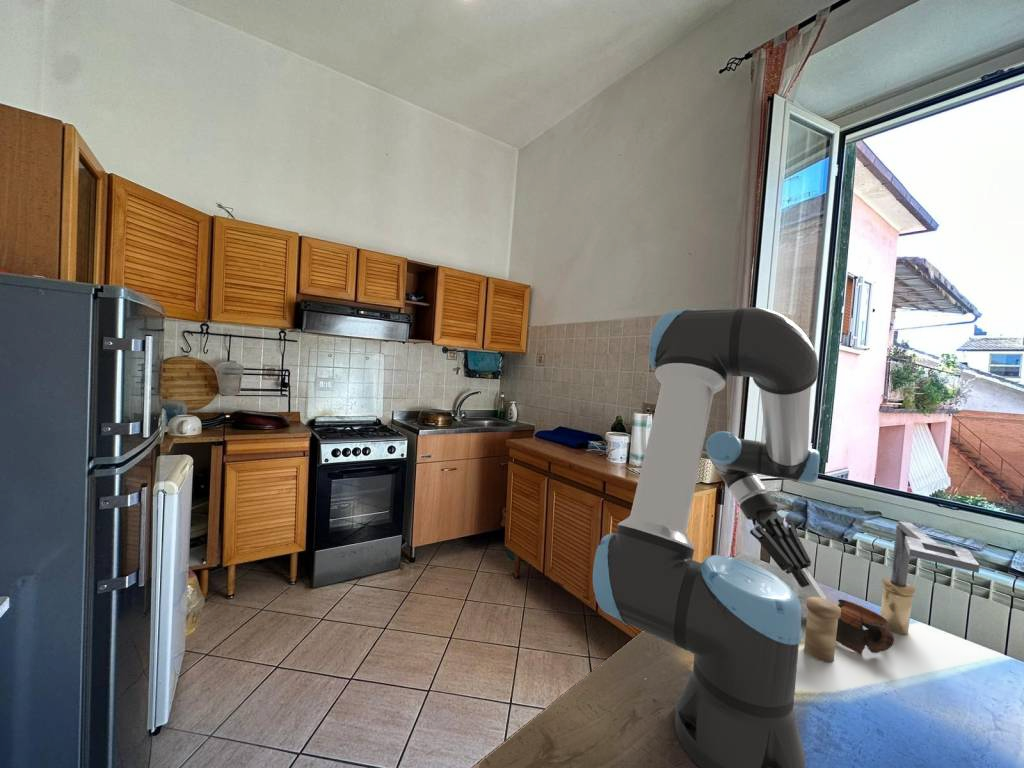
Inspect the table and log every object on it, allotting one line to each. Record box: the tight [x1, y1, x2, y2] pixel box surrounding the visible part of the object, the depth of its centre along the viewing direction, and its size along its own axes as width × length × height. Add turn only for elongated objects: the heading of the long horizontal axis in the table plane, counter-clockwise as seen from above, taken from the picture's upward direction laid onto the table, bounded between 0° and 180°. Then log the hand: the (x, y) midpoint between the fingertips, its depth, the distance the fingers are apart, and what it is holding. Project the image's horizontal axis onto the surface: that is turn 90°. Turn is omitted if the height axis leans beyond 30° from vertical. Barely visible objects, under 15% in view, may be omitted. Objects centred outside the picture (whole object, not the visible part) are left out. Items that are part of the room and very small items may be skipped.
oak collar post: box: [803, 597, 841, 663], centre depth 76 cm, size 5×5×9 cm
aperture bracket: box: [879, 520, 980, 636], centre depth 78 cm, size 10×22×22 cm, turn 141°
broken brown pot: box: [836, 598, 895, 655], centre depth 80 cm, size 12×10×8 cm
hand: (819, 602), depth 88 cm, fingers closed
